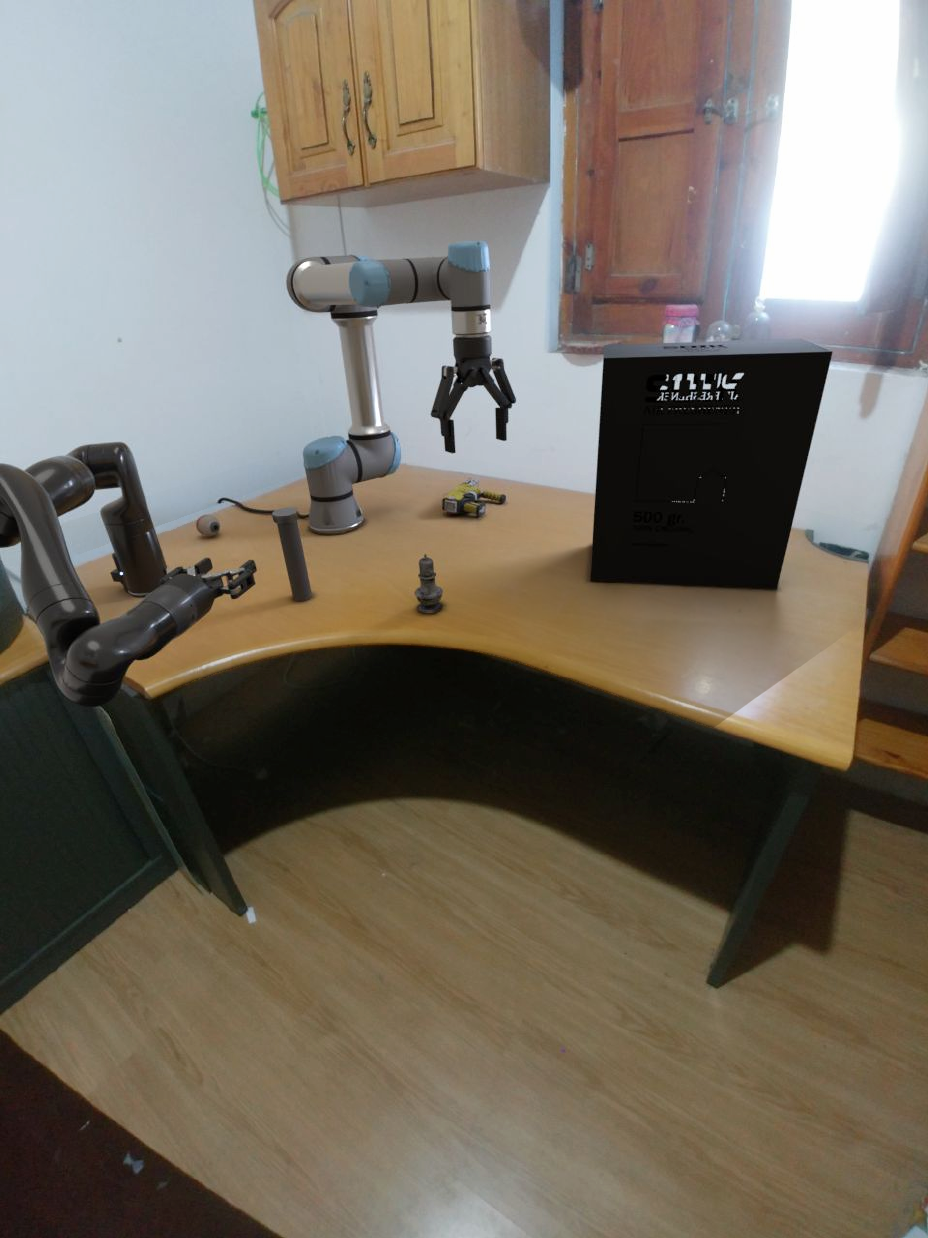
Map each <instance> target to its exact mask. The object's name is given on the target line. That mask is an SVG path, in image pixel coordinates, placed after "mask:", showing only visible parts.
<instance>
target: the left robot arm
mask: <svg viewBox="0 0 928 1238" xmlns="http://www.w3.org/2000/svg"><path fill="white" fill-rule="evenodd" d="M110 489H120V492H121V495H120V497H118V498H116V499H114V500H112V501H110V502H108V503H106V504H105V505H103V506H102V507H101V508H100V511H99V512H100V518H101V520H102V522H103V525H104V528H105V531H106V533H107V535H108V539H109V541H110V544H111V546H112V549H113V553H112V554H111V557H112V559H113V562H114V565H115V569H113V570H111V571H110V576H111V578H112V581H113V582H115V583H119V584H120V585H122V586H123V590H124V592H125V593H128V594H129V595H130V596H133V597H143V598H142V599H141V600H140V601H139V602H138V603H137V604H135V605H134V606H132V607H131V608H129V610H127V611H126V612H124V613H123V614H121V615H120V616H119V617H115V618H111V619H109V620H106V621H103V622H101V617H100V613H99V611H98V609H97V607H96V605H95V604H94V602H93V600H92V598H91V597H90V595H89V593H88V591H87V590H86V588H85V586H84V584H83V583H82V581H81V579H80V576H79V575H78V574H77V571H76V569H75V566H74V564H73V561H72V559H71V555H70V552H69V548H68V545H67V543H66V539H65V535H64V531H63V529H62V526H61V523H60V520H59V518H60V517H61V516H63V515H65V514H67V513H70V512H72V511H74V510H77V509H78V508H80V507H82V506H83V505H85V504H87V503H88V502H89V501H90V500H91V499H92V498H93V496H94V494H95V492H96V491H101V490H110ZM146 498H147V497H146V495H145V492H144V488H143V486H142V482H141V479H140V474H139V470H138V467H137V463H136V459H135V457H134V453H133V451H132V450H131V448H130V447H129V446H128V445H127V443H125V442H123V441H111V442H99V443H89V444H83V445H80V446H78V447H75V448H74V449H72V450H71V451H69V452H68V453H67V454H65V455H57V456H51V457H48V458H45V459H42V460H39V461H37V462H35V463H32V464H31V465H29V466H27V468H25V469H22V468H20V467H17V466H16V465H13V464H9V463H5V462H4V463H3V462H0V549H5V548H11V547H14V546H16V545H18V544H20V588H21V594H22V598H23V601H24V603H25V605H26V608H27V609H28V612H29V613H30V615H31V617H32V619H33V621H34V624H35V625H36V627H37V628H38V630H39V632H40V633H41V635H42V638H43V641H44V644H45V649H46V654H47V658H48V661H49V664H50V669H51V672H52V675H53V679H54V681H55V683H56V685H57V687H58V689H59V690H60V692H61V693H62V694H63V696H65V698H67V699H68V700H69V701H71V702H72V703H73V704H75V705H78V706H80V707H84V708H97V707H103V706H104V705H107V704H108V703H110V702H111V701H112V700H113V699H114V698H116V696H117V695H118V693H119V692H120V689H121V687H122V685H123V682H124V680H125V677H126V675H127V672H128V670H129V668H130V666H131V665H132V664H133V663H134V662H135V661H145V660H148V659H150V658H152V657H155V655H157V654H158V653H159V652H161V651H162V650H164V649H165V647H167V646H168V645H169V644H171V642H173V641H174V640H175V639H177V638H179V637H181V636H182V635H183V634H185V633H186V632H187V631H189V630H190V629H191V628H192V627H193V626H194V625H195V624H197V623H198V622H199V621H200V620H201V619H202V618H204V617H205V616H206V615H207V614H208V613H209V612H210V611H211V610H212V608H213V605H214V602H215V600H216V599H217V598H220V597H222V596H224V595H229V596H230V599H231V600H236V599H238V598H239V599H240V597H241V596H243V595H244V594H245V593H246V592H248V591H249V590H250V589H252V588H253V587H254V586H255V585H256V579H255V575H254V574H255V573H257V571H258V568H257V564H256V562H255V559H248V560H247V561H245V562H244V563H243V564H241V565H240V566H239V567H238V568H235V569H233V570H229V569H223V570H221V571H217V572H214V573H210V571H212V570H213V568H214V566H213V562H212V559H211V558H210V557H204V558H202V559H201V560H200V561H198V562H197V563H195V564H194V565H188V566H186V568H184V567H183V566H182V565H181V566H179V565H178V566H177V567H175V568H174V569H172V570H171V571H170V566H169V564H167V562H166V559H165V556H164V552H163V550H162V547H161V544H160V541H159V537H158V535H157V532H156V528H155V526H154V523H153V519H152V516H151V513H150V510H149V507H148V503H147V499H146ZM234 576H237V577H235V578H234ZM223 577H225V579H226V584H227V585H224V581H223Z"/></svg>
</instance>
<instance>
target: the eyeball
mask: <svg viewBox="0 0 928 1238" xmlns="http://www.w3.org/2000/svg"><path fill="white" fill-rule="evenodd" d="M220 529H221V523H220V521H219V519H218V518H217V517H216V516H215V515H212V514H203V515H201V516H200V517H198V518H197V520H196V530H197V531H198V533H199V534H200V535H202V536H204V537H209V538H210V537H214V536H216V535H217V534H218V533H219V532H220Z"/></svg>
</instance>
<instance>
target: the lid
mask: <svg viewBox="0 0 928 1238" xmlns="http://www.w3.org/2000/svg"><path fill="white" fill-rule="evenodd" d="M299 514H300V513H299V511H298V509H297V508H296V507H281V508H278V509H275V511H274V512H273V513H272V514H271V517H272V521H273V523H274V524H276V525H277V524H287V523H292V522H295V521H297V522H298V520H299V519H300V518H299Z"/></svg>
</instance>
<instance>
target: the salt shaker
mask: <svg viewBox="0 0 928 1238" xmlns="http://www.w3.org/2000/svg"><path fill="white" fill-rule="evenodd" d="M418 569H419V572H418V575H417V577H418V578H419V583H420V586H419V587H418V588H416V589H415V590H414V594H413V595H414V597H415V598H416V600H417V602H418V603H419V604H418V605H417V610H418V612H420V613H423V614H434V613H437V612H440V611H441V610H442V609H443V608H444V607H443V606H444V605H443V603H442V602H440V601H441V599H442V596H443V594H444V589H443V588H442V587H440V586H439V585H437V584H436V576H437V572H435V567H434V560H433V559H432V558H431V557H428V554H426V553H424V555H423V557H422V558H420V559H419V560H418Z"/></svg>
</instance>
